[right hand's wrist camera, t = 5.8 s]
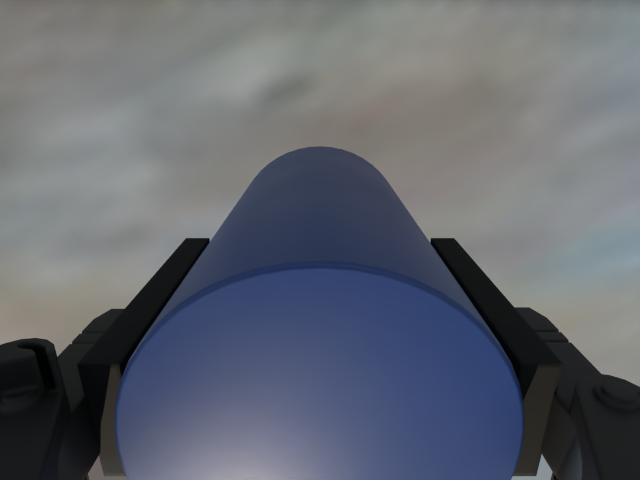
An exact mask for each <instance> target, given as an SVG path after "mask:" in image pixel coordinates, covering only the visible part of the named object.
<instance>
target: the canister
mask: <svg viewBox="0 0 640 480" xmlns="http://www.w3.org/2000/svg"><path fill="white" fill-rule="evenodd" d="M114 430H115V438H116V446H117V451H118V454H119V457H120V461H121V464H122V467H123V470H124V472H125V474H126V476H127V478H128V480H511V478H512V476H513V474H514V472H515V470H516V467H517V464H518V460H519V457H520V454H521V451H522V444H523V438H524V431H525V427H524V404H523V399H522V394H521V389H520V384H519V381H518V379H517V376H516V374H515V371H514V369H513V366H512V363H511V362H510V360H509V358H508V357H507V355H506V353H505V352H504V350H503V348H502V347H501V345H500V343H499V342H498V340H497V339H496V337H495V336H494V334H493V333H492V332H491V330H490V329H489V327H488V326H487V324H486V323H485V321H484V320H483V319H482V317H481V316H480V314H479V313H478V311H477V310H476V308H475V307H474V306H473V304H472V303H471V301H470V300H469V298H468V297H467V296H466V294H465V293H464V291H463V290H462V288H461V287H460V285H459V284H458V283H457V281H456V280H455V278H454V277H453V275H452V274H451V272H450V271H449V270H448V268H447V267H446V265H445V264H444V262H443V261H442V259H441V258H440V257H439V255H438V254H437V252H436V251H435V249H434V248H433V247H432V245H431V244H430V242H429V241H428V239H427V238H426V236H425V235H424V234H423V232H422V231H421V229H420V228H419V226H418V225H417V223H416V222H415V221H414V219H413V218H412V216H411V215H410V213H409V212H408V210H407V209H406V208H405V206H404V205H403V203H402V202H401V200H400V199H399V197H398V196H397V195H396V193H395V192H394V190H393V189H392V187H391V186H390V185H389V183H388V182H387V180H386V179H385V178H384V177H383V175H382V174H381V173H380V172H379V171H378V170H377V169H376V168H375V167H374V166H373V165H372V164H370V163H369V162H367V161H366V160H364V159H363V158H361V157H359V156H357V155H355V154H353V153H351V152H348V151H345V150H342V149H337V148H332V147H308V148H302V149H298V150H295V151H292V152H289V153H286V154H284V155H282V156H280V157H278V158H277V159H275V160H274V161H272V162H271V163H269V164H268V165H267V166H266V167H265V168H264V169H262V170H261V171H260V172H259V174H258V175H257V176H256V177H255V178H254V180H253V181H252V183H251V184H250V185H249V187H248V188H247V190H246V191H245V193H244V194H243V195H242V197H241V198H240V200H239V201H238V203H237V204H236V205H235V207H234V208H233V210H232V211H231V213H230V214H229V215H228V217H227V218H226V220H225V221H224V223H223V224H222V225H221V227H220V228H219V230H218V231H217V233H216V234H215V236H214V237H213V238H212V240H211V241H210V243H209V244H208V246H207V247H206V248H205V250H204V251H203V253H202V254H201V256H200V257H199V258H198V260H197V261H196V263H195V264H194V266H193V267H192V268H191V270H190V271H189V273H188V274H187V276H186V277H185V278H184V280H183V281H182V283H181V284H180V286H179V287H178V289H177V290H176V291H175V293H174V294H173V296H172V297H171V299H170V300H169V301H168V303H167V304H166V306H165V307H164V309H163V310H162V311H161V313H160V314H159V316H158V317H157V319H156V320H155V321H154V323H153V324H152V326H151V327H150V329H149V330H148V331H147V333H146V334H145V336H144V337H143V339H142V340H141V342H140V343H139V345H138V347H137V348H136V350H135V351H134V353H133V355H132V356H131V358H130V359H129V361H128V364H127V366H126V369H125V371H124V373H123V376H122V378H121V381H120V384H119V389H118V393H117V398H116V402H115V422H114Z"/></svg>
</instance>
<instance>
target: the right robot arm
mask: <svg viewBox="0 0 640 480" xmlns="http://www.w3.org/2000/svg"><path fill="white" fill-rule="evenodd" d="M209 243H210V240H209V238H186V239H185V240H184V241H183V243H182V244H181V245H180V246H179V247H178V248H177V249H176V251H175V252H174V253H173V254H172V255H171V256H170V258H169V259H168V260H167V261H166V262H165V263H164V264H163V266H162V267H161V268H160V269H159V270H158V271H157V272H156V274H155V275H154V276H153V277H152V278H151V279H150V281H149V282H148V283H147V284H146V285H145V286H144V287H143V289H142V290H141V291H140V292H139V293H138V294H137V296H136V297H135V298H134V299H133V300H132V301H131V302H130V304H129V305H128V306H127V307H126V308H125V309H111V310H109V311H107V312H105V313H104V314H102V315H100V316H99V317H97V318H95V319H94V320H93V321H92V322H91V323H90V324H89V325H88V326H87V327H86V328H85V329H84V330H83V331H82V334H79V335H78V336H77V337H76V338H75V339H74V340H73V341H72V344H70V345H69V346H68V347H67V348H66V349H65V350H64V351H63V352H62V353H61V354H60V355H59V356H58V357H57V355H56V351H55V347H54V344H53V343H51V342H50V341H48V340H46V339H39V338H31V339H20V340H17V341H13V342H9V343H5V344H2V345H0V480H89V477H88V472H89V471H90V469H91V467H92V466H93V464H94V462H95V461H96V459H97V457H98V456H99V457H100V461H101V465H102V469H103V473H104V476H126V474H125V472H124V470H123V467H122V464H121V461H120V457H119V454H118V451H117V446H116V438H115V430H114V422H115V402H116V398H117V393H118V389H119V384H120V381H121V378H122V376H123V373H124V371H125V369H126V366H127V364H128V361H129V359H130V358H131V356H132V355H133V353H134V351H135V350H136V348H137V347H138V345H139V343H140V342H141V340H142V339H143V337H144V336H145V334H146V333H147V331H148V330H149V329H150V327H151V326H152V324H153V323H154V321H155V320H156V319H157V317H158V316H159V314H160V313H161V311H162V310H163V309H164V307H165V306H166V304H167V303H168V301H169V300H170V299H171V297H172V296H173V294H174V293H175V291H176V290H177V289H178V287H179V286H180V284H181V283H182V281H183V280H184V278H185V277H186V276H187V274H188V273H189V271H190V270H191V268H192V267H193V266H194V264H195V263H196V261H197V260H198V258H199V257H200V256H201V254H202V253H203V251H204V250H205V248H206V247H207V246H208V244H209ZM430 244H431V245H432V247H433V248H434V249H435V251H436V252H437V254H438V255H439V257H440V258H441V259H442V261H443V262H444V264H445V265H446V267H447V268H448V270H449V271H450V272H451V274H452V275H453V277H454V278H455V280H456V281H457V283H458V284H459V285H460V287H461V288H462V290H463V291H464V293H465V294H466V296H467V297H468V298H469V300H470V301H471V303H472V304H473V306H474V307H475V308H476V310H477V311H478V313H479V314H480V316H481V317H482V319H483V320H484V321H485V323H486V324H487V326H488V327H489V329H490V330H491V332H492V333H493V334H494V336H495V337H496V339H497V340H498V342H499V343H500V345H501V347H502V348H503V350H504V352H505V353H506V355H507V357H508V358H509V360H510V362H511V363H512V366H513V369H514V371H515V374H516V376H517V379H518V381H519V384H520V389H521V394H522V399H523V404H524V427H525V431H524V438H523V444H522V451H521V454H520V457H519V460H518V464H517V467H516V470H515V472H514V474H513V476H536V474H537V470H538V466H539V462H540V458H541V454H542V455H543V456H544V458H545V460H546V461H547V463H548V465H549V466H550V468H551V470H552V471H553V473H552V477H551V480H640V387H639V386H637V385H635V384H633V383H630V382H628V381H626V380H624V379H620V378H617V377H614V376H610V375H603V374H601V373H600V372H599V371H598V370H597V369H596V368H595V367H594V366H593V365H592V364H591V363H590V362H589V361H588V360H587V359H586V358H585V357H584V356H583V355H582V354H581V353H580V352H579V351H578V350H577V348H576V347H575V346H574V345H573V344H572V343H569V342H568V339H567V338H566V337H565V336H564V335H563V334H562V333H561V332H559V330H558V329H557V328H556V327H555V326H554V325H553V324H552V323H551V322H550V321H549V320H548V319H547V318H546V317H544V316H543V315H541V314H539V313H538V312H536V311H534V310H532V309H531V308H514V307H513V306H512V304H511V303H510V302H509V301H508V300H507V299H506V297H505V296H504V295H503V294H502V293H501V292H500V291H499V289H498V288H497V287H496V286H495V285H494V284H493V283H492V281H491V280H490V279H489V278H488V277H487V276H486V274H485V273H484V272H483V271H482V270H481V269H480V268H479V266H478V265H477V264H476V263H475V262H474V261H473V260H472V258H471V257H470V256H469V255H468V254H467V253H466V251H465V250H464V249H463V248H462V247H461V246H460V245H459V243H458V242H457V241H456V240H455V239H454V238H431V243H430Z"/></svg>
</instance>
